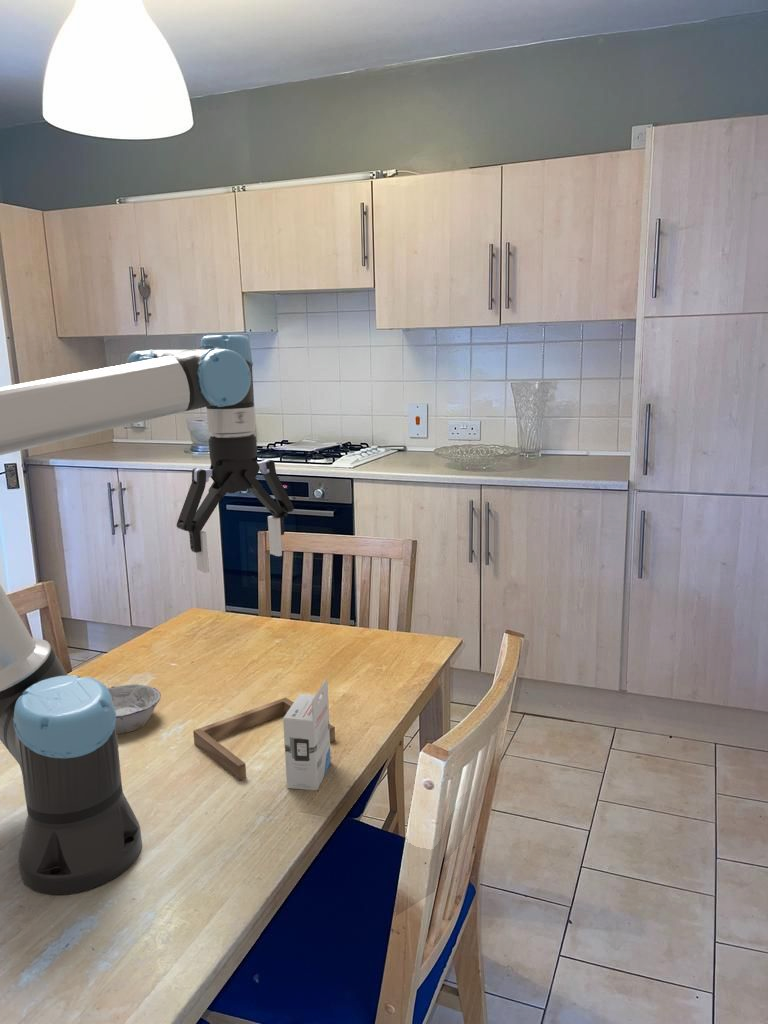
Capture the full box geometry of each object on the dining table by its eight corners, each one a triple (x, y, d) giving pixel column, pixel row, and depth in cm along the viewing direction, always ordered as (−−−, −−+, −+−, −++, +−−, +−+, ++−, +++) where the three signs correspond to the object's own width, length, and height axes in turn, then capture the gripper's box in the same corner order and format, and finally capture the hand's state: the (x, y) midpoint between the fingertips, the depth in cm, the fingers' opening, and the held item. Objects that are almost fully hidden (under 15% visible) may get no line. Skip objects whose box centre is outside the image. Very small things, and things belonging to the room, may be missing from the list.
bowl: (70, 730, 138) (67, 705, 137) (126, 701, 149) (123, 678, 148) (122, 747, 131) (120, 721, 130) (176, 715, 142) (174, 691, 141)
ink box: (302, 759, 126) (298, 674, 123) (331, 762, 125) (328, 676, 122) (285, 788, 118) (280, 698, 115) (317, 791, 117) (312, 701, 114)
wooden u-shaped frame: (239, 780, 120) (238, 766, 120) (194, 744, 132) (193, 730, 131) (335, 740, 132) (334, 726, 131) (286, 709, 143) (285, 697, 143)
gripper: (168, 444, 113) (180, 583, 118) (310, 428, 129) (315, 552, 133) (147, 440, 119) (159, 573, 124) (285, 425, 135) (291, 544, 139)
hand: (240, 562), depth 129 cm, fingers open, 13 cm apart
